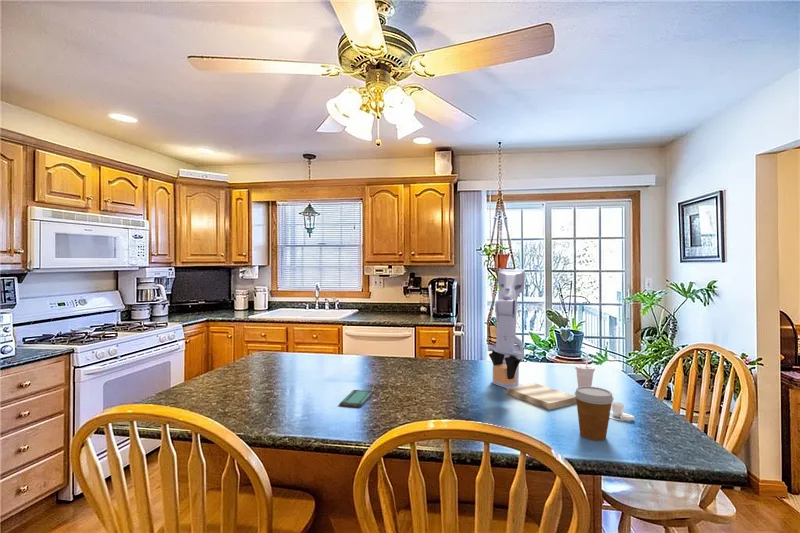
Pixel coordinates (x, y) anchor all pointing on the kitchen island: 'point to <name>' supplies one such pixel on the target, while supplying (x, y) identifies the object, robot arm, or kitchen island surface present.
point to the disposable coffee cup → (593, 411)
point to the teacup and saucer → (620, 412)
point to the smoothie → (584, 374)
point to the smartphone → (356, 399)
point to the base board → (542, 395)
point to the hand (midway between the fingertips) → (504, 376)
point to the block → (501, 374)
